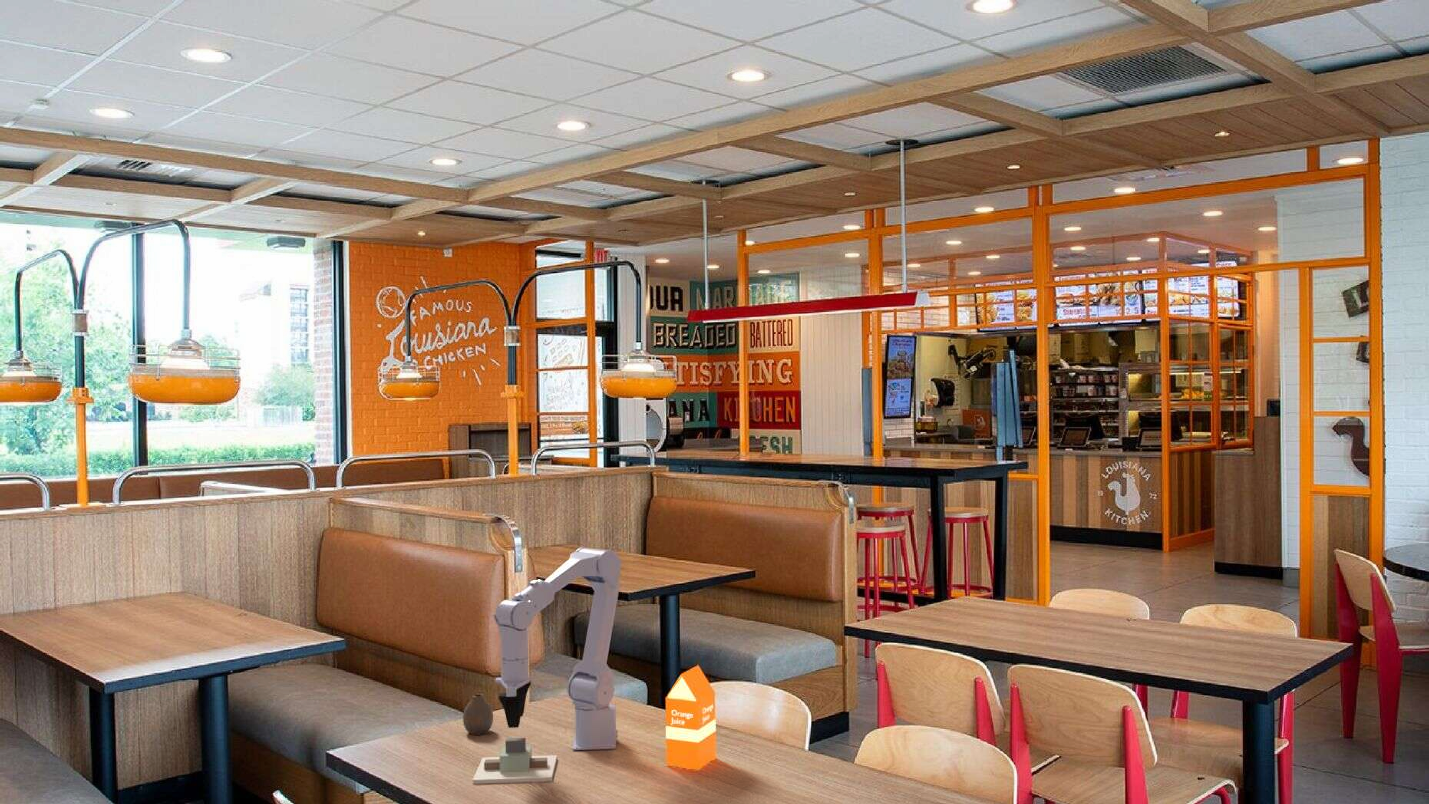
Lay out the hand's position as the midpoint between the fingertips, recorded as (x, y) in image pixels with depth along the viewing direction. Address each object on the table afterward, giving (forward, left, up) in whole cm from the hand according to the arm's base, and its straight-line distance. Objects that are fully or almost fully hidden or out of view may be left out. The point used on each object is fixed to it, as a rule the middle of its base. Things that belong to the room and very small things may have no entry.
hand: (515, 721), depth 242 cm
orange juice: (-37, -2, -11) cm, 38 cm away
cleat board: (0, 0, -10) cm, 10 cm away
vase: (+12, -28, -11) cm, 32 cm away
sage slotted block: (0, 0, -10) cm, 10 cm away
